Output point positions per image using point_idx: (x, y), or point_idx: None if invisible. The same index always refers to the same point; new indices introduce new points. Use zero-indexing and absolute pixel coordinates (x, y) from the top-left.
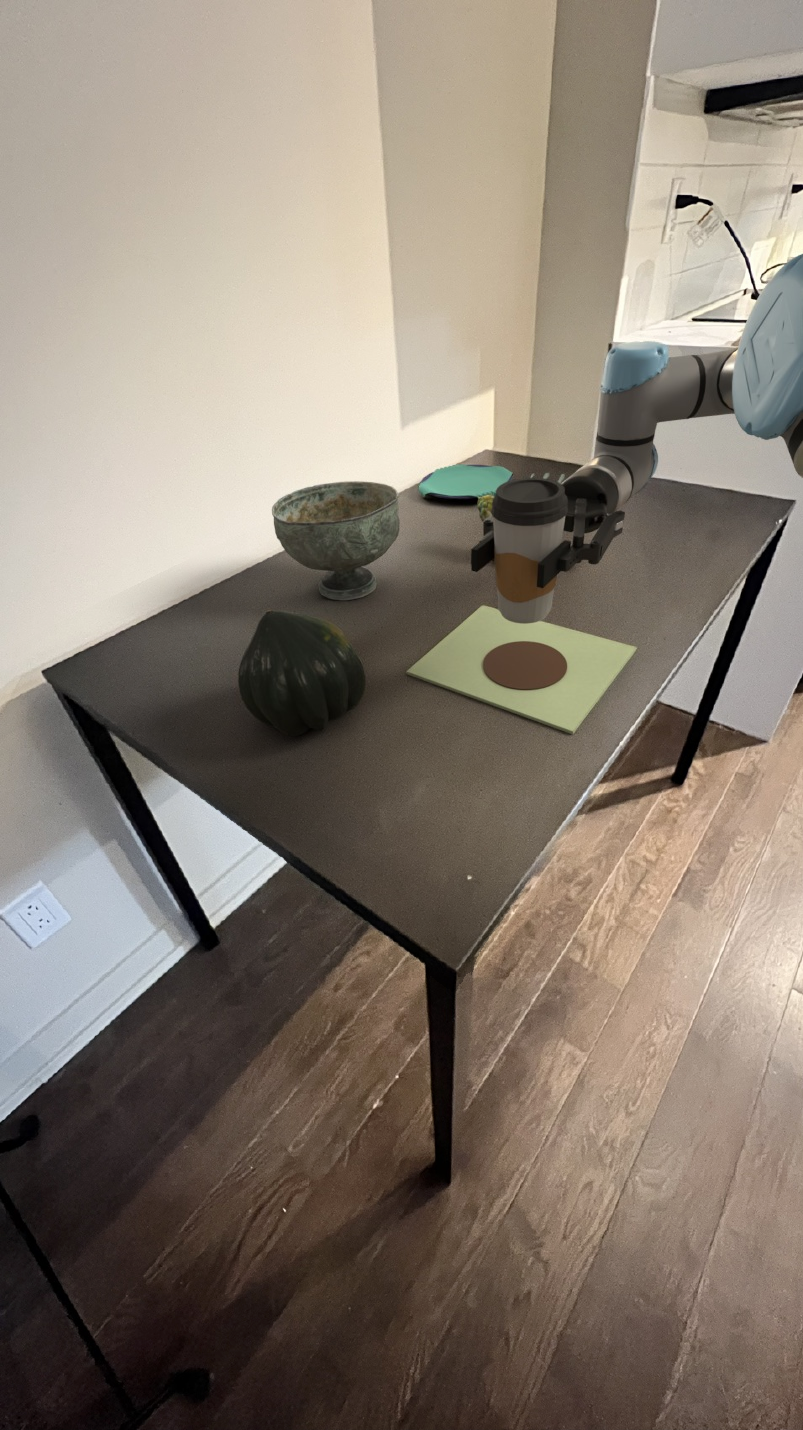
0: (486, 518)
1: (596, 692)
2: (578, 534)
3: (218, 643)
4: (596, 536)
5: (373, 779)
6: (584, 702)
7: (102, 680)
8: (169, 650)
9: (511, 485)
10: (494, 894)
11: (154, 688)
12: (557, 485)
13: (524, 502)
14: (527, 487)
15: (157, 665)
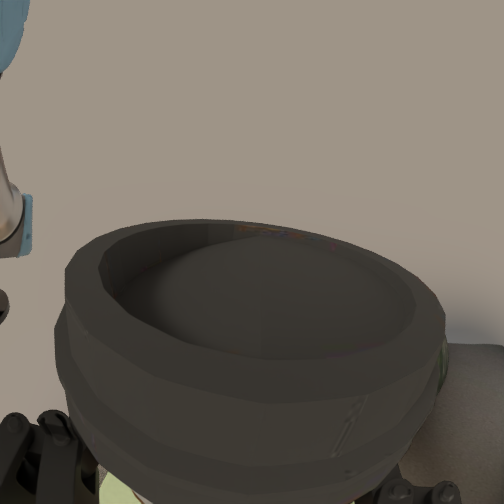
0: (460, 500)
1: (101, 499)
2: (56, 483)
3: (497, 401)
4: (5, 458)
5: None
6: (115, 482)
7: (484, 353)
8: (500, 381)
9: (405, 310)
10: None
11: (466, 362)
12: (99, 283)
13: (232, 220)
14: (308, 301)
15: (488, 371)
